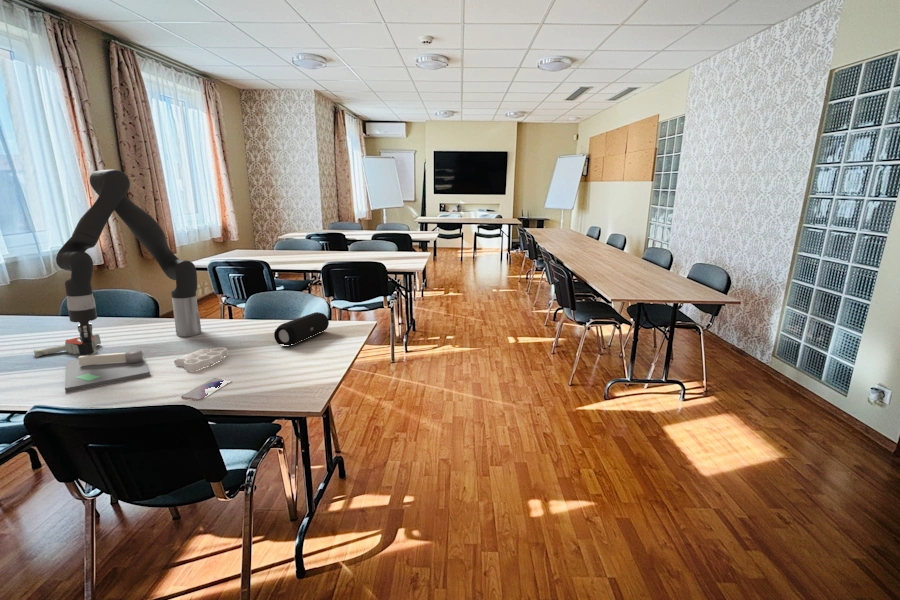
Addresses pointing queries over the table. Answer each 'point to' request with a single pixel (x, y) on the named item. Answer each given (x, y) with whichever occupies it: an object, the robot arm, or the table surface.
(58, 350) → the tape dispenser
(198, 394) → the smartphone
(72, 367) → the dial plate
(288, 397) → the table surface
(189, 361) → the grey paint palette
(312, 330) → the portable speaker
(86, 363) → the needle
